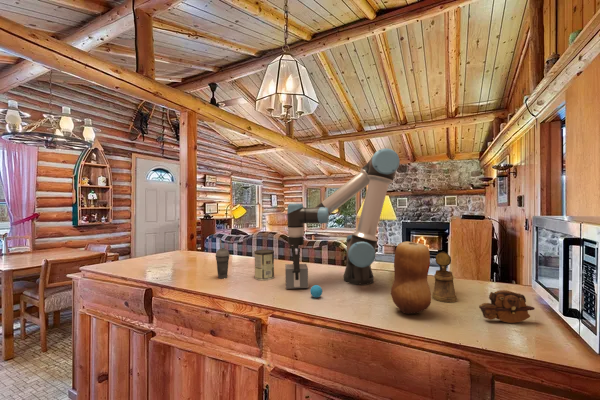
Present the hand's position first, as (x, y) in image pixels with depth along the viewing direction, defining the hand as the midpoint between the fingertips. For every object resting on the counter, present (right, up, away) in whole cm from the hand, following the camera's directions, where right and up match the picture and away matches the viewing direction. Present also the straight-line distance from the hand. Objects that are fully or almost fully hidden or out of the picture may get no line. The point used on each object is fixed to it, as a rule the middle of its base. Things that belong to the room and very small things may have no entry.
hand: (296, 283), depth 134 cm
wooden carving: (+70, -1, -40) cm, 81 cm away
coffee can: (-17, -2, +16) cm, 24 cm away
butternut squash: (+41, -1, -32) cm, 52 cm away
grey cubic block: (0, -1, 0) cm, 1 cm away
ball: (+8, +1, -16) cm, 18 cm away
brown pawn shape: (+62, -1, -16) cm, 64 cm away
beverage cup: (-39, -2, +16) cm, 42 cm away
